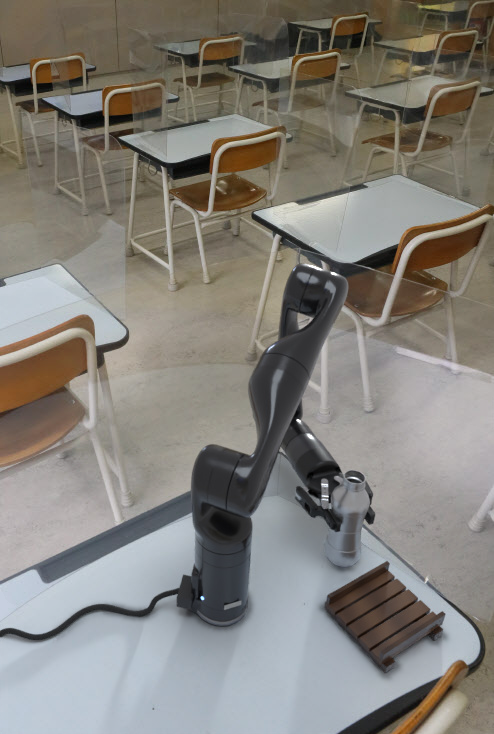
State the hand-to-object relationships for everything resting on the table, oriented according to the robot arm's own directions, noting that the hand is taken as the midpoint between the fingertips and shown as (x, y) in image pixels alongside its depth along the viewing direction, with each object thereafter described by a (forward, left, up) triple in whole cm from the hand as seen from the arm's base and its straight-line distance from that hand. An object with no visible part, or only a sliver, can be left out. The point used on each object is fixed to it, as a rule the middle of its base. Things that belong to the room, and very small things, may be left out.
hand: (355, 524), depth 119 cm
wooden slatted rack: (+6, -10, -11) cm, 16 cm away
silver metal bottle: (-1, +2, -11) cm, 11 cm away
